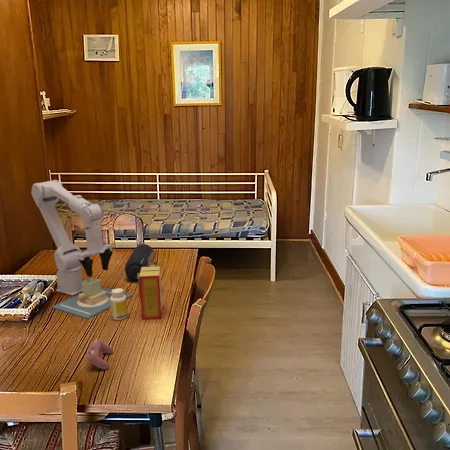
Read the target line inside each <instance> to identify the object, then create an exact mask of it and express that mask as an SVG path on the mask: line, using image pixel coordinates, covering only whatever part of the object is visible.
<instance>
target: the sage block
mask: <svg viewBox="0 0 450 450" xmlns="http://www.w3.org/2000/svg"><path fill="white" fill-rule="evenodd" d="M101 285H102V284H101V279H99V278H95V277H93V276H92V277H89V278H87V279H85V280H82V286H83V291H82V293H83V294H85V295H88V296H94V295H97V294H99V293H101V287H102V286H101Z"/></svg>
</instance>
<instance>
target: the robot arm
mask: <svg viewBox="0 0 450 450" xmlns="http://www.w3.org/2000/svg"><path fill="white" fill-rule="evenodd" d="M31 196H32V198H33V200H34V203H35V204H36V206H37V207H38V208H39V210H40V214H41V215H42V218H43V220H44V222H45V224H46V226H47V228H48V231H49V233H50V235H51V237H52V240H53V241H54V244H55V246H56V248H57V249H56V250H55V252H54V254H53V258H54V260H55V265H56V267H57V269H58V270H57V272H56V283H57V288H56V289H55V290H56V292H59V293H62V294H67V295H69V296H74V295H75V296H76V295H78V294H80V293H83V286H82V281H83V277H82V276H83V275H82V268H83V269H84V272H85V275H86V277H89V278H91V277H92V278H93V264H94V259H93V258H90V257H93V256H96V255H99V258H100V262H101V263H100V264H101V269H102V271H108V270H109V264H110V260H111V257H112V255H113V253H114V252H113V247H112V244H111V243H106V244H104V241H103V230H102V220H101V219H103V217H104V209H103V207H102V206H101V205H100V204H99V203H92V202H90V201H88V200H87V199H85V198H83V196H82V195H81V194H77V195H73V193H71V192H70V191H68V190H67V189H66V188H64V187H63V184H62V182H61V181H59V180H58V179H52V180H49V181H48V180H47V181H43V182H36V183H33V184H32V187H31ZM59 200H60V201H62V202H64V203H66V204H68V208H69V209H70V210H72V211H73V212H74V213H76V214H78V215H79V217H80V219H81V221H82V226H83V227H84V232H85V242H86V250H83V251H82V250H81V248H79V246H78V245H77V244H74V243H72V242H71V240H70V239H69V238H70V237H69V236H68V234H67V232H66V229H65V228H64V224H63V223H62V220H61V219H60V216H59V215H58V212H57V210H56V207H55V206H56V204H57V203H58V201H59Z"/></svg>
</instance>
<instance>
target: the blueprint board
mask: <svg viewBox="0 0 450 450" xmlns="http://www.w3.org/2000/svg"><path fill="white" fill-rule="evenodd" d="M112 290H113V289H110V288H106V287H102V286H101V293H99V294H97V295H94V296H88V295H85V294H83V292H80V293H77V294H76V295H75V296H74V295H73V296H72V297H70V298H68V299H66V300H64V301H62V302H59V303H57V304H55V305H52V307H51V308H52V309H53V310H57V311H60V312H63V313H66V314H70V315H73V316H75V317H78V318H81V319H84V320H89V319H91V318H93V317H95V316H97V315H99V314H101V313H103V312H105V311H107V310H108V309H111V306H110V298H111V296H112ZM123 295H125V296H126V300H127V299H130V298H132V294H128V293H126V292H125V293H124V294H123Z"/></svg>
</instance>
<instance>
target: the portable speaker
mask: <svg viewBox="0 0 450 450" xmlns="http://www.w3.org/2000/svg"><path fill="white" fill-rule="evenodd" d="M155 257H156V253H155V250H154V249H153V248H152V246H150V245H148V244H146V243H142V244H139V245H137V246H136V247H134V249H133V251H132V252H131V254H130V256H129V257H128V259H127V261H126V262H125V265H124V273H125V276H126V277H127V278H128V279H129V280H132V281H137V282H138V279H137V273H140V272H141V267H147V266H148V263H153V264H154V261H155Z"/></svg>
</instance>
